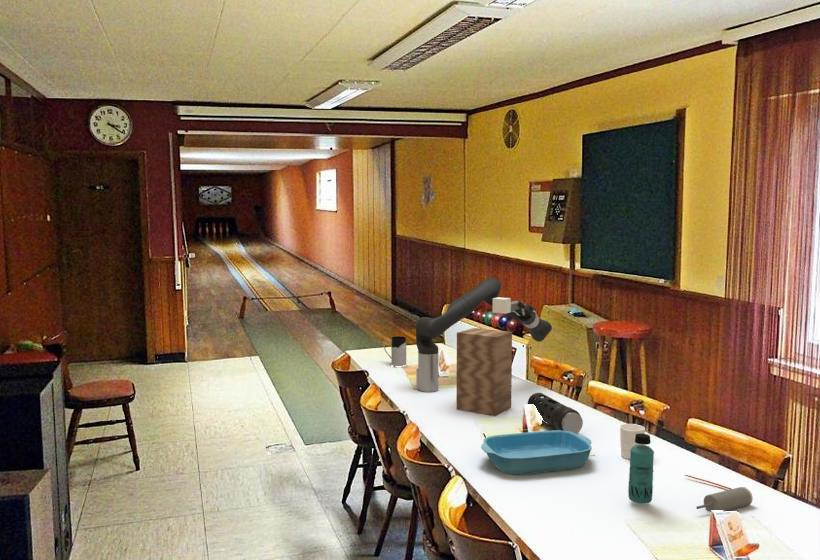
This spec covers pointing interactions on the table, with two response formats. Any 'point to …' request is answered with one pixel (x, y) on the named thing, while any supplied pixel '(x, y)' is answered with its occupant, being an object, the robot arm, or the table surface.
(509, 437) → the casserole dish
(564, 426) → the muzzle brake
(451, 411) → the table surface
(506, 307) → the plug
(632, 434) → the white cup
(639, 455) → the beverage bottle
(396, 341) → the glass holder
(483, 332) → the stand
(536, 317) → the robot arm
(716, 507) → the motor
